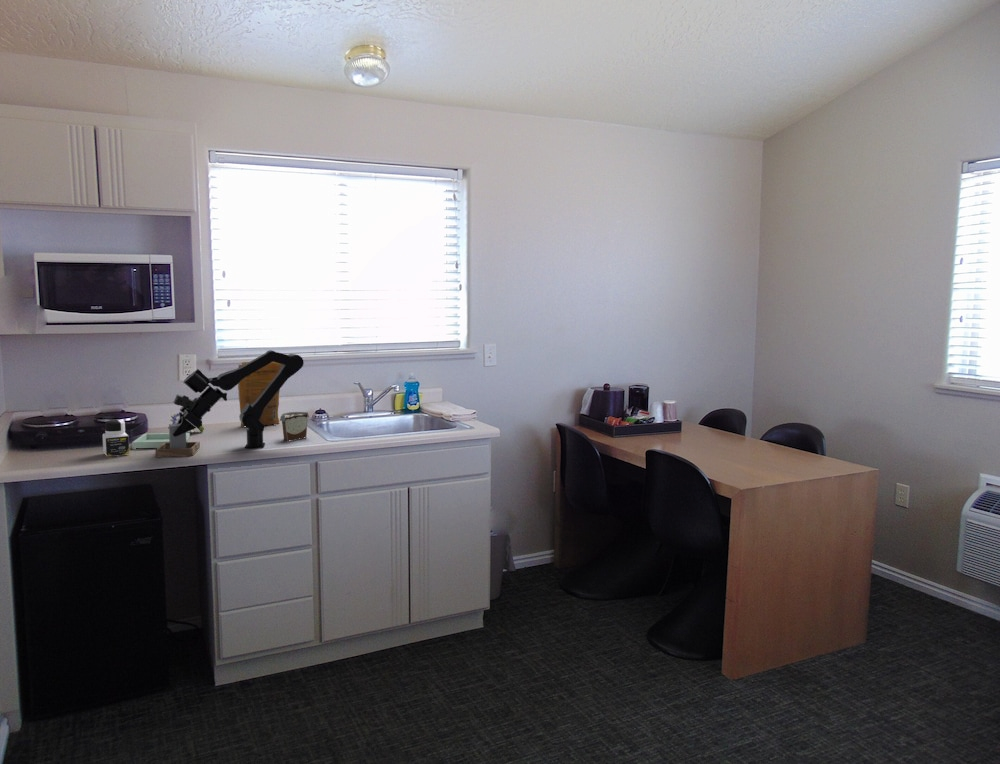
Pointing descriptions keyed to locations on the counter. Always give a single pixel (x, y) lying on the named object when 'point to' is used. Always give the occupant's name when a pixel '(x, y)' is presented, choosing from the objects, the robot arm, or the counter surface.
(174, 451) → the walnut collar
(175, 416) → the passion flower
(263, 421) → the pancake mix bag
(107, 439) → the medicine bottle
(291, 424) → the food container
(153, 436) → the mint green tray
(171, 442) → the grey peg
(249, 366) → the robot arm
